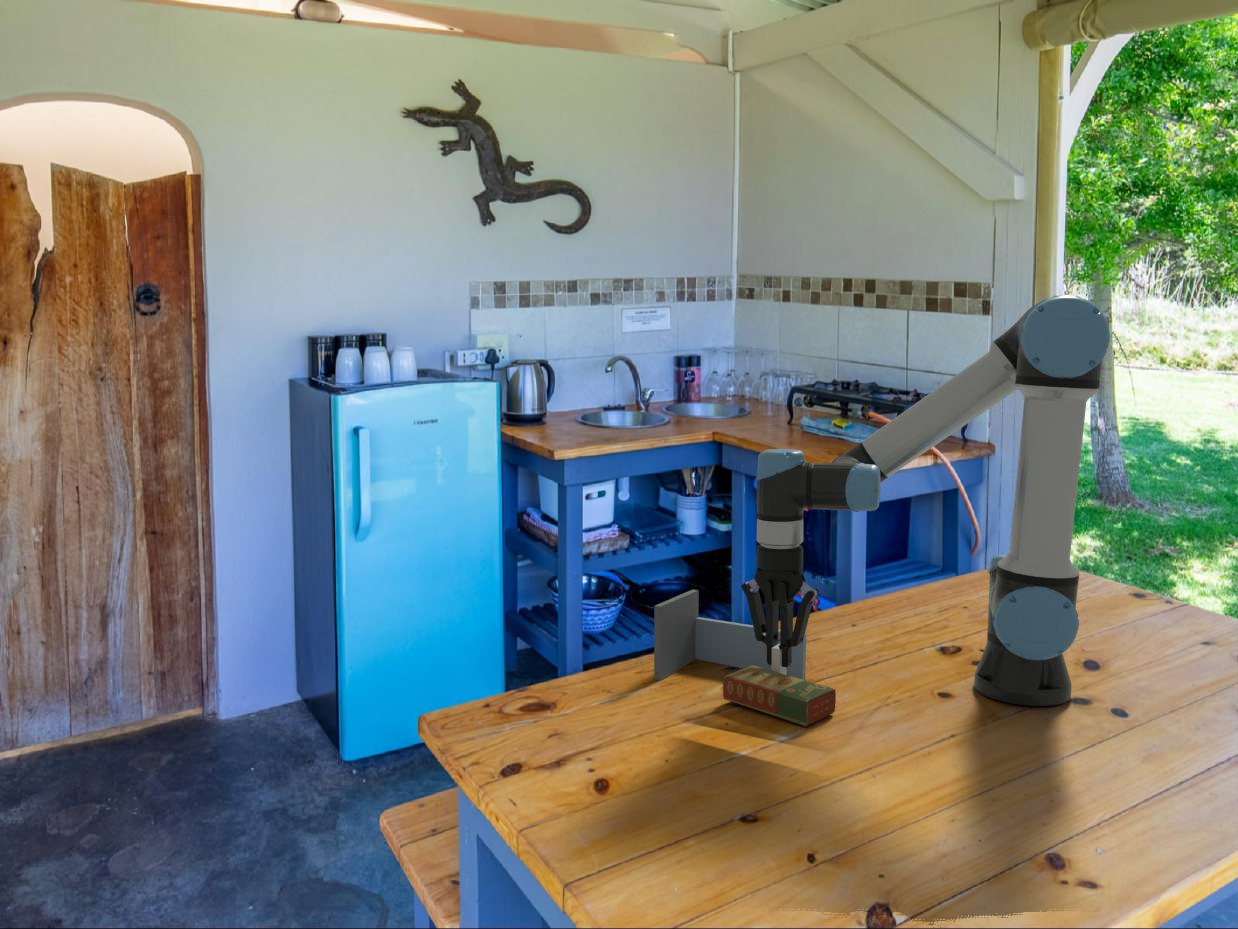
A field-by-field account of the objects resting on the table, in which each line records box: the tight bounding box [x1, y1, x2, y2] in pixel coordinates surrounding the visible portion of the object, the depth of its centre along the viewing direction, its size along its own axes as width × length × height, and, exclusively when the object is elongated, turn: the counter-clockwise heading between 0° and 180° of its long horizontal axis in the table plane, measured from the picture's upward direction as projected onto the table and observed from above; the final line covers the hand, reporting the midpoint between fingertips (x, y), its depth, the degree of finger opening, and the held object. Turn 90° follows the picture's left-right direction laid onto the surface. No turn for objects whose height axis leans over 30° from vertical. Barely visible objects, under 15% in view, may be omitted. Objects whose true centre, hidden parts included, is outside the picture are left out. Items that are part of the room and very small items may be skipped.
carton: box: [722, 665, 837, 727], centre depth 166 cm, size 8×16×4 cm, turn 46°
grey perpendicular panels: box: [653, 589, 807, 682], centre depth 181 cm, size 22×14×13 cm, turn 58°
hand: (779, 684), depth 174 cm, fingers closed
